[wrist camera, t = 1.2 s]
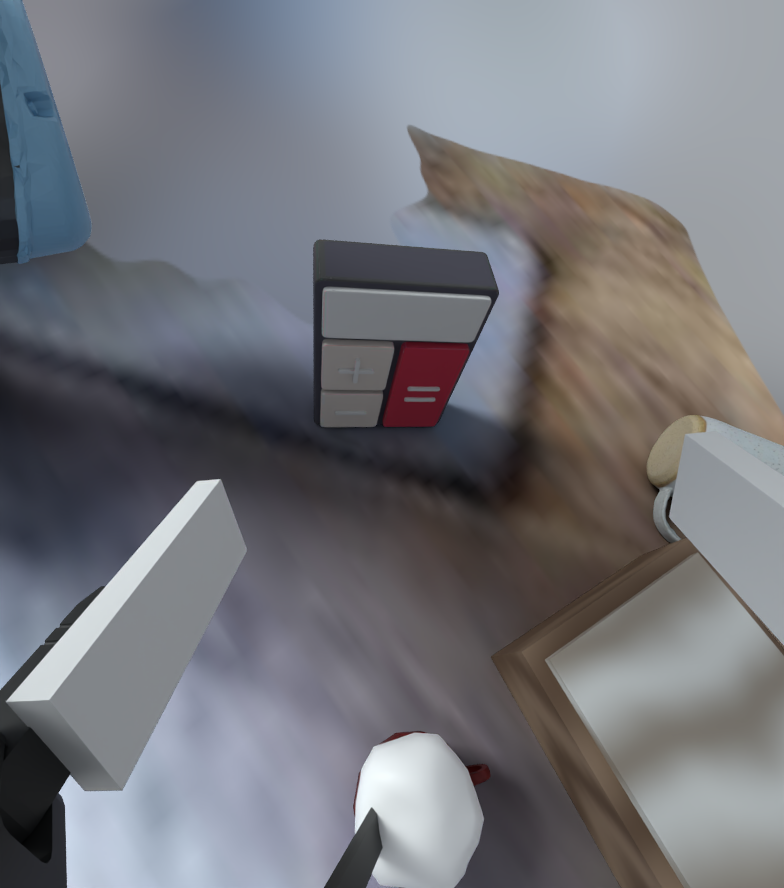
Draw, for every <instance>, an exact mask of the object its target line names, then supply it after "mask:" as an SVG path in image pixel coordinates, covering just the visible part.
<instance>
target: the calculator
mask: <svg viewBox="0 0 784 888" xmlns="http://www.w3.org/2000/svg"><path fill="white" fill-rule="evenodd" d="M498 295H499V290H498V287H497V284H496V281H495V278H494V275H493V272H492V269H491V266H490V263H489V260H488V257H487V255H486V254H485V253H483V252H474V251H461V250H449V249H436V248H423V247H410V246H398V245H385V244H372V243H359V242H347V241H333V240H317V241H316V242H315V243H314V247H313V296H314V298H313V306H314V308H313V309H314V422H315V423H316V424H320V425H321V427H375V426H376V424H383V426H384V427H432V426H435V425H436V423H438V422H439V420H440V418H441V416H442V414H443V412H444V409H445V407H446V405H447V403H448V401H449V399H450V397H451V395H452V393H453V390H454V388H455V386H456V384H457V382H458V380H459V378H460V376H461V373H462V371H463V369H464V367H465V365H466V363H467V361H468V359H469V357H470V354H471V352H472V350H473V348H474V346H475V344H476V342H477V340H478V338H479V335H480V333H481V331H482V329H483V327H484V325H485V323H486V321H487V319H488V316H489V314H490V312H491V310H492V308H493V306H494V304H495V302H496V299H497V297H498Z"/></svg>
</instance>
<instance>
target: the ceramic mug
mask: <svg viewBox="0 0 784 888" xmlns="http://www.w3.org/2000/svg"><path fill="white" fill-rule="evenodd" d="M712 431H716V432H718V433H719V434H721V435H722V436H724V437H725V438H727V439H728V440H730V441H731V442H733V443H734V444H736V445H738V446H739V447H741V448H742V449H744V450H745V451H747V452H748V453H750V454H751V455H753V456H754V457H756V458H757V459H759V460H760V461H762V462H763V463H765V464H766V465H768V466H769V467H771V468H772V469H774V470H775V471H777V472H779V473H780V474H782V475H783V476H784V446H782V445H779V444H777V443H774V442H771V441H769V440H766V439H764V438H761V437H759V436H756V435H754V434H751V433H749V432H746V431H743V430H740V429H738V428H735V427H733V426H730V425H728V424H726V423H724V422H721V421H718V420H716V419H712V418H708V417H704V416H699V415H689V416H685V417H683V418H680V419H679V420H677V421H675V422H674V423H673V424H671V425H670V426H669V427H668V428H667V429H666V430H665V431H664V432H663V433H662V435H661V436H660V437H659V439H658V440H657V442H656V443H655V445H654V447H653V448H652V450H651V453H650V455H649V458H648V461H647V475H648V479H649V481H650V482H651V483H652V484H653V485H654V486H656V487H657V488H658V489H659V490H660V492H659V493H658V495H657V497H656V499H655V502H654V509H653V518H654V522H655V525H656V527H657V529H658V530H659V532H660V533H661V535H662V536H663V537H664V538H665V539H666V540H667V541H669V542H670V543H674V542H676V541H679V540H681V538H679V537H678V536H677V534H676V533H675V532H674V530H673V529H671V528H670V527H669V524H668V523H667V521H666V512H665V510H666V506H667V501H668V499H669V497H670V496H671V497H673V494H674V489H675V483H676V478H677V473H678V468H679V463H680V458H681V453H682V448H683V443H684V438H685V434H691V433H702V432H712Z"/></svg>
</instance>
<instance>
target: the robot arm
mask: <svg viewBox="0 0 784 888" xmlns="http://www.w3.org/2000/svg"><path fill="white" fill-rule="evenodd" d="M91 229H92V223H91V218H90V214H89V211H88V207H87V204H86V200H85V197H84V194H83V190H82V187H81V184H80V181H79V177H78V174H77V171H76V167H75V164H74V161H73V157H72V154H71V151H70V148H69V145H68V141H67V138H66V135H65V132H64V128H63V125H62V122H61V119H60V116H59V113H58V110H57V106H56V104H55V100H54V97H53V93H52V90H51V87H50V84H49V81H48V78H47V74H46V71H45V68H44V65H43V62H42V59H41V55H40V52H39V49H38V46H37V43H36V40H35V37H34V34H33V31H32V28H31V25H30V22H29V20H28V16H27V14H26V10H25V7H24V4H23V1H22V0H0V264H5V263H14V262H17V263H18V264H22V263H27V262H28V261H29V260H30V258H35V257H41V256H46V255H51V254H57V253H62V252H68V251H73V250H76V249H77V248H79V247H81V246H82V245H83V244H84V243H85V242H86V241H87V239H88V238H89V237H90V234H91ZM669 518H670V519H671V520H672V521H673V522H674V524H675V525H676V526H677V527H678V528H679V529H680V530H681V531H682V532H683V534H684V535H685V536H686V537H687V538H688V539H689V540H690V541H691V542H692V544H693V545H694V546H695V547H696V548H697V549H698V550H699V551H700V552H701V554H702V555H703V556H704V557H705V558H706V559H707V560H708V561H709V563H710V564H711V565H712V566H713V567H714V568H715V569H716V570H717V571H718V573H719V574H720V575H721V576H722V577H723V578H724V579H725V580H726V581H727V583H728V584H729V585H730V586H731V587H732V588H733V589H734V590H735V592H736V593H737V594H738V595H739V596H740V597H741V598H742V599H743V600H744V602H745V603H746V604H747V605H748V606H749V607H750V608H751V609H752V610H753V612H754V613H755V614H756V615H757V616H758V617H759V618H760V619H761V621H762V622H763V623H764V624H765V625H766V626H767V627H768V628H769V629H770V631H771V632H772V633H773V634H774V635H775V636H776V637H777V638H778V639H779V641H780V642H781V643H782V644H783V645H784V476H783V475H782V474H780V473H779V472H777V471H775V470H774V469H772V468H771V467H769V466H768V465H766V464H765V463H763V462H762V461H760V460H759V459H757V458H756V457H754V456H753V455H751V454H750V453H748V452H747V451H745V450H744V449H742V448H741V447H739V446H738V445H736V444H734V443H733V442H731V441H730V440H728V439H727V438H725V437H724V436H722V435H721V434H719V433H718V432H716V431H712V432H702V433H691V434H685V438H684V443H683V448H682V453H681V458H680V463H679V468H678V473H677V478H676V483H675V489H674V494H673V499H672V504H671V509H670V514H669ZM246 552H247V548H246V545H245V543H244V540H243V537H242V535H241V532H240V529H239V526H238V524H237V521H236V518H235V516H234V513H233V510H232V508H231V505H230V502H229V500H228V497H227V494H226V492H225V489H224V486H223V483H222V481H221V479H216V480H206V481H197V482H196V483H195V484H194V485H193V486H192V487H191V489H190V490H189V491H188V492H187V493H186V494H185V495H184V497H183V498H182V499H181V500H180V501H179V502H178V504H177V505H176V506H175V507H174V508H173V509H172V510H171V512H170V513H169V514H168V515H167V516H166V517H165V519H164V520H163V521H162V522H161V523H160V524H159V526H158V527H157V528H156V529H155V530H154V531H153V532H152V534H151V535H150V536H149V537H148V538H147V539H146V541H145V542H144V543H143V544H142V545H141V546H140V547H139V549H138V550H137V551H136V552H135V553H134V554H133V556H132V557H131V558H130V559H129V560H128V561H127V562H126V564H125V565H124V566H123V567H122V568H121V569H120V571H119V572H118V573H117V574H116V575H115V576H114V577H113V579H112V580H111V581H110V582H109V583H108V584H107V586H102V587H100V588H98V589H97V590H96V591H95V592H93V593H92V594H91V595H89V596H88V597H87V598H85V599H84V600H83V601H81V602H80V603H79V604H78V605H77V606H76V607H75V608H74V609H73V610H72V611H71V612H70V613H69V615H68V616H67V617H66V618H65V619H64V620H63V621H62V622H61V623H60V627H59V628H56V629H55V630H54V631H53V632H52V633H51V635H50V636H49V637H48V638H47V639H46V640H45V644H44V645H41V646H40V647H39V648H38V649H37V650H36V651H35V652H34V653H33V655H32V656H31V657H30V658H29V659H28V660H27V661H26V662H25V663H24V665H23V666H22V667H21V668H20V669H19V670H18V671H17V672H16V673H15V675H14V676H13V677H12V678H11V679H10V680H9V681H8V682H7V683H6V685H5V686H4V687H3V688H2V689H1V690H0V888H67V873H66V832H65V805H64V802H63V799H62V796H61V795H60V794H59V791H60V789H61V788H62V786H63V785H64V783H65V781H66V780H67V778H68V777H69V775H71V776H72V777H73V778H74V779H75V781H76V782H77V783H78V784H79V785H80V786H81V787H82V788H83V790H84V791H122V790H123V788H124V786H125V784H126V783H127V781H128V779H129V777H130V775H131V773H132V771H133V769H134V767H135V765H136V763H137V761H138V759H139V758H140V756H141V754H142V752H143V750H144V748H145V746H146V744H147V742H148V740H149V738H150V736H151V734H152V733H153V731H154V729H155V727H156V725H157V723H158V721H159V719H160V717H161V715H162V713H163V711H164V709H165V708H166V706H167V704H168V702H169V700H170V698H171V696H172V694H173V692H174V690H175V688H176V686H177V684H178V683H179V681H180V679H181V677H182V675H183V673H184V671H185V669H186V667H187V665H188V663H189V661H190V659H191V658H192V656H193V654H194V652H195V650H196V648H197V646H198V644H199V642H200V640H201V638H202V636H203V635H204V633H205V631H206V629H207V627H208V625H209V623H210V621H211V619H212V617H213V615H214V613H215V611H216V610H217V608H218V606H219V604H220V602H221V600H222V598H223V596H224V594H225V592H226V590H227V588H228V586H229V585H230V583H231V581H232V579H233V577H234V575H235V573H236V571H237V569H238V567H239V565H240V563H241V561H242V560H243V558H244V556H245V554H246Z"/></svg>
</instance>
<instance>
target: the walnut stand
mask: <svg viewBox="0 0 784 888" xmlns="http://www.w3.org/2000/svg"><path fill="white" fill-rule="evenodd" d="M491 658H492V660H493V662H494V664H495V665H496V667H497V669H498V671H499V672H500V674H501V676H502V678H503V680H504V681H505V683H506V685H507V687H508V688H509V690H510V692H511V694H512V696H513V697H514V699H515V701H516V703H517V704H518V706H519V708H520V710H521V711H522V713H523V715H524V717H525V719H526V720H527V722H528V724H529V726H530V727H531V729H532V731H533V733H534V735H535V736H536V738H537V740H538V742H539V743H540V745H541V747H542V749H543V750H544V752H545V754H546V756H547V758H548V759H549V761H550V763H551V765H552V766H553V768H554V770H555V772H556V774H557V775H558V777H559V779H560V781H561V782H562V784H563V786H564V788H565V789H566V791H567V793H568V795H569V797H570V798H571V800H572V802H573V804H574V805H575V807H576V809H577V811H578V812H579V814H580V816H581V818H582V820H583V821H584V823H585V825H586V827H587V828H588V830H589V832H590V834H591V836H592V837H593V839H594V841H595V843H596V844H597V846H598V848H599V850H600V851H601V853H602V855H603V857H604V859H605V860H606V862H607V864H608V866H609V867H610V869H611V871H612V873H613V875H614V876H615V878H616V880H617V882H618V883H619V885H620V887H621V888H784V649H783V648H782V646H781V645H780V644H779V643H778V642H777V640H776V639H775V638H774V637H773V636H772V634H771V633H770V632H769V631H768V630H767V628H766V627H765V626H764V625H763V624H762V622H761V621H760V620H759V619H758V618H757V616H756V615H755V614H754V613H753V612H752V610H751V609H750V608H749V607H748V606H747V604H746V603H745V602H744V601H743V600H742V598H741V597H740V596H739V595H738V594H737V593H736V592H735V590H734V589H733V588H732V587H731V586H730V585H729V584H728V583H727V581H726V580H725V579H724V578H723V577H722V576H721V575H720V574H719V573H718V571H717V570H716V569H715V568H714V567H713V566H712V565H711V564H710V563H709V561H708V560H707V559H706V558H705V557H704V556H703V555H702V554H701V552H700V551H699V550H698V549H697V548H696V547H695V546H694V545H693V544H692V542H691V541H690V540H689V539H688V538H687V537H686V538H684V539H681V540H679V541H676V542H674V543H671V544H668V545H666V546H663V547H661V548H658V549H656V550H653V551H651V552H648V553H646V554H643V555H642V556H640V557H639V558H637V559H636V560H634V561H633V562H631V563H630V564H628V565H627V566H625V567H624V568H622V569H621V570H619V571H618V572H616V573H615V574H613V575H612V576H610V577H609V578H607V579H606V580H604V581H603V582H601V583H600V584H598V585H597V586H595V587H594V588H592V589H591V590H589V591H588V592H586V593H585V594H584V595H582V596H581V597H579V598H578V599H576V600H575V601H573V602H572V603H570V604H569V605H567V606H566V607H564V608H563V609H561V610H560V611H558V612H557V613H555V614H554V615H552V616H551V617H549V618H548V619H546V620H545V621H543V622H542V623H540V624H539V625H537V626H536V627H534V628H533V629H531V630H530V631H528V632H527V633H525V634H524V635H522V636H521V637H519V638H518V639H516V640H515V641H514V642H512V643H511V644H509V645H508V646H506V647H505V648H503V649H502V650H500V651H499V652H497V653H496V654H494V655H493V656H491Z"/></svg>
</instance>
